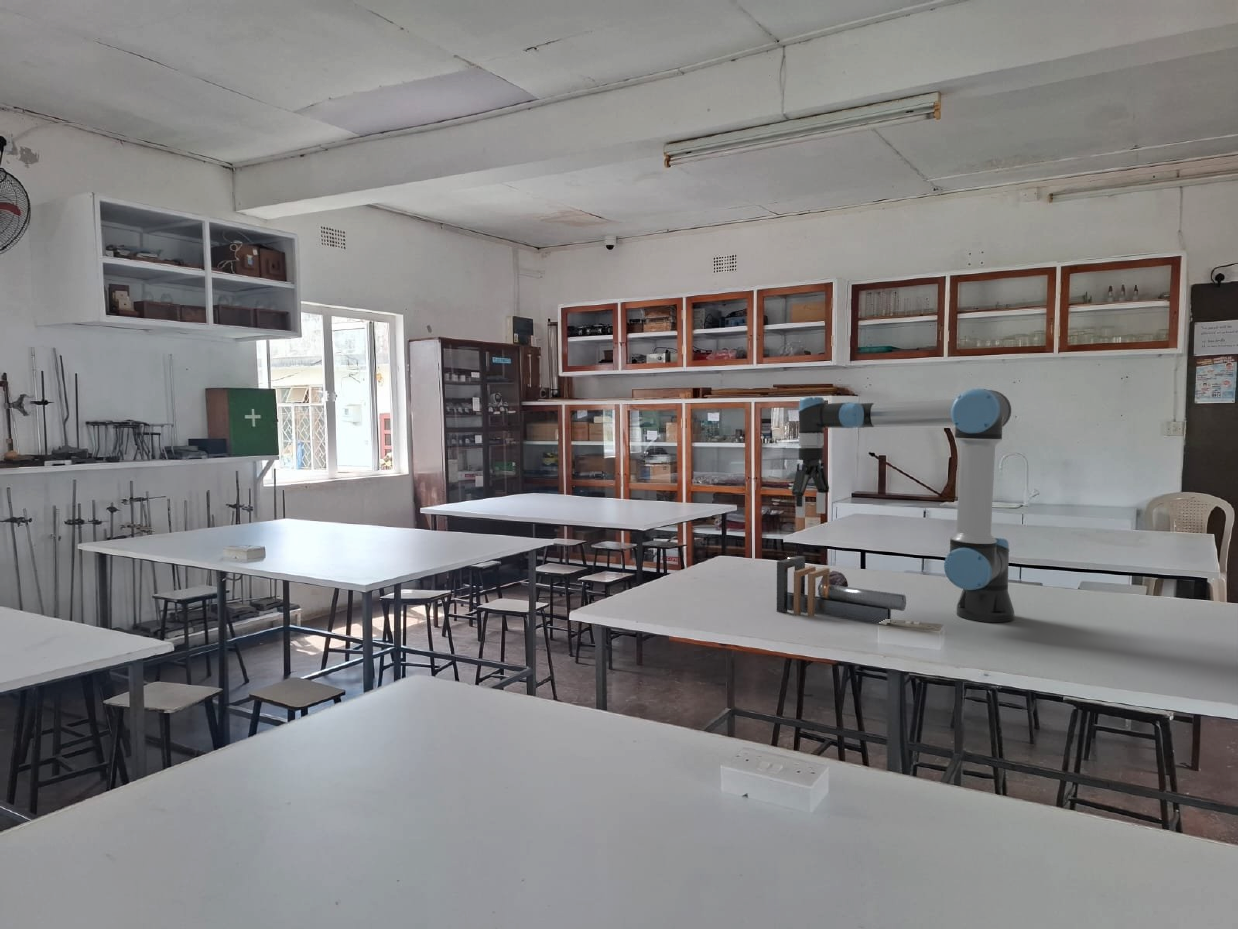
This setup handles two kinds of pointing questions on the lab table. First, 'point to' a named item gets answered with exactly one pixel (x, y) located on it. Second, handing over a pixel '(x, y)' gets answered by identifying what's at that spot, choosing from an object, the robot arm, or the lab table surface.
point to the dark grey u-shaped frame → (783, 580)
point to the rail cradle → (842, 609)
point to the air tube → (863, 597)
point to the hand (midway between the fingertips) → (810, 515)
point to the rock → (835, 580)
